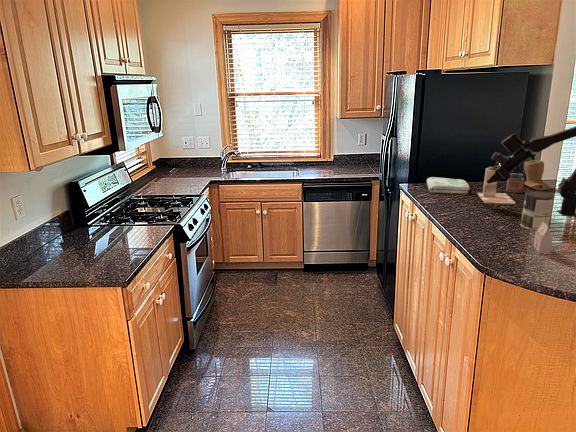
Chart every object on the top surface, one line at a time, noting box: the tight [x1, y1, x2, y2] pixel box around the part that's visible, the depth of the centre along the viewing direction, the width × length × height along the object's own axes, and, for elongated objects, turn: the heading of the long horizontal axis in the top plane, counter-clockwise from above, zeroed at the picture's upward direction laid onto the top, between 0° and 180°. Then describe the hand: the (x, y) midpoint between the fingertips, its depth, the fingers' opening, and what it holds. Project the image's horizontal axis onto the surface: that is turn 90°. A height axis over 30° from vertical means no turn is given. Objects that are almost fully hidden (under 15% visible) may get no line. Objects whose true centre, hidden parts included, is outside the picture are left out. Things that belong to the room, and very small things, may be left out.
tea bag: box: [532, 222, 554, 255], centre depth 155 cm, size 4×7×10 cm, turn 166°
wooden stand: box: [523, 159, 552, 191], centre depth 238 cm, size 15×12×15 cm
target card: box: [476, 192, 517, 205], centre depth 220 cm, size 18×14×1 cm
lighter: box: [505, 172, 525, 194], centre depth 231 cm, size 8×3×10 cm, turn 62°
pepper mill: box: [482, 166, 498, 198], centre depth 204 cm, size 5×5×14 cm
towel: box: [426, 176, 471, 195], centre depth 240 cm, size 18×21×5 cm
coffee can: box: [520, 190, 555, 231], centre depth 178 cm, size 10×10×14 cm
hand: (487, 181), depth 204 cm, fingers closed on pepper mill, 5 cm apart
